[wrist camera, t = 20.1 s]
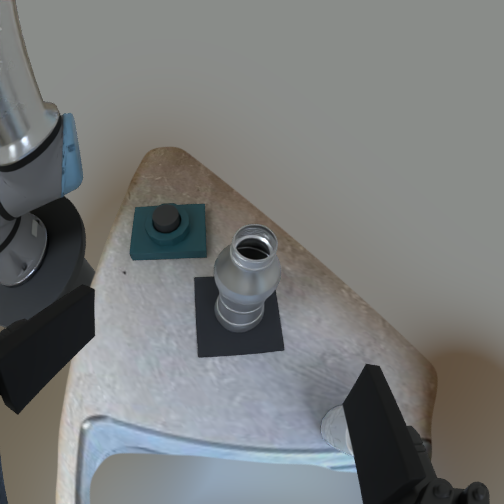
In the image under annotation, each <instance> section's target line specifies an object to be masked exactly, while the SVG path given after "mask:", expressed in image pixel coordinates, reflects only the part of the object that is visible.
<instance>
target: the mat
mask: <svg viewBox="0 0 504 504" xmlns="http://www.w3.org/2000/svg"><path fill="white" fill-rule="evenodd" d="M194 281H195V307H196V326H197V343H198V357H217V356H232V355H244V354H256V353H266V352H275V351H283V350H284V344H283V337H282V330H281V323H280V317H279V310H278V304H277V297H276V291H275V290H274V292H273V293H272V294H271V295H270V296H269V297H268V298H267V299H266V300H265V302H264V314H263V317H262V319H261V321H260V322H259V324H257V325H256V326H255V327H254V328H252V329H250V330H248V331H246V332H232V331H229V330H227V329H226V328H224V327H223V326H222V325H221V324H220V323H219V321H218V320H217V318H216V315H215V303H216V300H217V298H218V296H219V290H218V287H217V285H216V282H215V277H195V278H194Z"/></svg>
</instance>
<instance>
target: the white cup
mask: <svg viewBox="0 0 504 504" xmlns="http://www.w3.org/2000/svg"><path fill="white" fill-rule="evenodd" d="M320 430H321V434H322V438H323V439H324V440H325V441H326V442H327V443H328V445H330V446H332V447H334V448H336V449H337V450H339V451H341V452H343V453H345V454H347V455H350V456H352V457H354V454H353V449H352V445H351V440H350V436H349V431H348V427H347V422H346V418H345V414H344V409H343V405H340V406H336V407H335V408H333V409H331V410H330V411H328V413H327V414H326V416H325V417H324V418H323V420H322V424H321V429H320Z"/></svg>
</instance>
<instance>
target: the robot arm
mask: <svg viewBox="0 0 504 504" xmlns="http://www.w3.org/2000/svg"><path fill="white" fill-rule="evenodd" d="M82 180H83V171H82V164H81V157H80V150H79V144H78V138H77V132H76V126H75V121H74V118H73V115H72V114H71V113H68V114H66V113H65V114H63V115H62V116H61V115H60V113H59V110H58V108H57V106H56V105H55V104H53V103H51V102H45V101H43V99H42V97H41V94H40V91H39V88H38V85H37V82H36V79H35V77H34V73H33V70H32V67H31V63H30V60H29V57H28V53H27V50H26V46H25V42H24V38H23V35H22V30H21V25H20V21H19V16H18V11H17V6H16V0H0V283H1V284H2V285H4V286H6V287H9V288H15V287H19V286H21V285H23V284H25V283H27V282H28V281H29V280H30V279H31V278H32V277H34V275H35V274H36V273H37V272H38V270H39V269H40V267H41V266H42V264H43V262H44V260H45V257H46V255H47V251H48V247H49V234H48V230H47V228H46V226H45V225H44V224H43V222H42V221H41V220H40V219H39V218H38V217H37V216H35V215H33V214H31V213H30V211H32V210H34V209H36V208H38V207H40V206H43V205H45V204H47V203H49V202H51V201H54V200H56V199H58V198H62V197H63V196H64V195H65V194H67V193H69V192H71V191H73V190H75V189H77V188H78V187H79V186H80V185H81V182H82ZM94 297H95V289H93V288H90V287H88V286H85V285H83V284H82V285H81V286H79V287H77V288H76V289H74V290H73V291H71V292H70V293H68V294H66V295H65V296H63V297H62V298H60V299H59V300H57V301H56V302H54V303H53V304H51V305H50V306H48V307H47V308H45V309H44V310H42V311H41V312H39V313H38V314H36V315H35V316H33V317H32V318H30V319H29V320H26V319H22V320H19V321H16V322H14V323H12V324H11V325H9V326H8V327H7V328H6V329H4V330H2V331H1V332H0V395H1V396H2V398H3V401H4V403H5V405H6V406H7V407H9V408H10V409H11V410H13V411H14V412H15V413H16V414H19V413H20V412H21V411H22V410H23V408H24V407H25V406H26V405H27V404H28V403H29V402H30V401H31V400H32V399H33V398H34V397H35V396H36V395H37V394H38V393H39V391H40V390H41V389H42V388H43V387H44V386H45V385H46V384H47V383H48V382H49V381H50V380H51V379H52V378H53V377H54V376H55V375H56V374H57V373H58V372H59V371H60V370H61V369H62V368H63V367H64V366H65V365H66V364H67V363H68V362H69V361H70V360H71V359H72V358H73V357H74V356H75V355H76V354H77V353H78V352H79V351H80V350H81V349H82V348H83V347H84V346H85V345H86V344H87V343H88V342H89V341H90V340H91V339H92V338H93V337H94V336H95V318H94ZM342 405H343V409H344V414H345V418H346V422H347V427H348V431H349V436H350V440H351V445H352V449H353V454H354V459H355V464H356V469H357V474H358V479H359V484H360V489H361V495H362V500H363V504H489V491H488V489H487V487H486V486H485V485H484V484H483V483H480V482H474V483H472V484H470V485H469V486H468V487H467V488H466V489H457V488H456V489H455V488H453V487H452V486H451V484H450V483H449V482H448V481H446V480H445V479H441V478H437V476H436V474H435V471H434V469H433V466H432V464H431V461H430V459H429V456H428V454H427V452H426V449H425V447H424V445H422V444H423V442H422V440H421V438H420V435H419V434H418V432H417V431H416V430H415V429H414V428H413V427H412V426H406V423H405V421H404V419H403V416H402V414H401V412H400V410H399V407H398V405H397V403H396V401H395V398H394V396H393V394H392V392H391V390H390V387H389V385H388V383H387V381H386V379H385V377H384V375H383V372H382V370H381V368H380V366H377V365H370V364H366V365H365V367H364V368H363V370H362V372H361V374H360V376H359V377H358V379H357V381H356V383H355V384H354V386H353V388H352V389H351V391H350V393H349V394H348V396H347V398H346V399H345V401H344V403H343V404H342ZM0 504H8V501H7V497H6V492H5V486H4V480H3V473H2V466H1V456H0Z"/></svg>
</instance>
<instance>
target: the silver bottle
mask: <svg viewBox="0 0 504 504" xmlns="http://www.w3.org/2000/svg"><path fill="white" fill-rule="evenodd" d="M277 247H278V241H277V237H276V235H275V234H274V233H273V231H272V230H270V229H269V228H267V227H266V226H263V225H260V224H248V225H245V226H243V227H241V228H240V229H238V230H237V232H236V233H235V235H234V237H233V240H232V243H231V244H230V245H228V246H227V247H226V248H224V249H223V251H222V252H221V253H220V254H219V256H218V258H217V260H216V261H215V265H214V277H215V282H216V285H217V287H218V290H219V296H218V298H217V300H216V303H215V315H216V318H217V320H218V321H219V323H220V324H221V325H222V326H223V327H224V328H226V329H227V330H229V331H232V332H246V331H248V330H250V329H252V328H254V327H255V326H256V325H257V324H259V322H260V321H261V319H262V317H263V314H264V302H265V300H266V299H267V298H268V297H269V296H270V295H271V294H272V293H273V292H274V290H275V289H276V288H277V286H278V284H279V282H280V279H281V266H280V262H279V259H278V257H277V255H276V251H277Z"/></svg>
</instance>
